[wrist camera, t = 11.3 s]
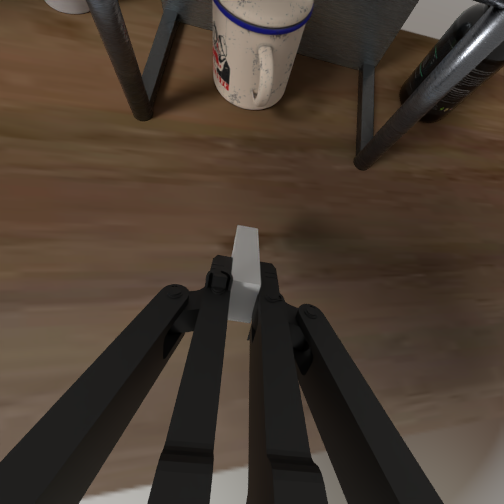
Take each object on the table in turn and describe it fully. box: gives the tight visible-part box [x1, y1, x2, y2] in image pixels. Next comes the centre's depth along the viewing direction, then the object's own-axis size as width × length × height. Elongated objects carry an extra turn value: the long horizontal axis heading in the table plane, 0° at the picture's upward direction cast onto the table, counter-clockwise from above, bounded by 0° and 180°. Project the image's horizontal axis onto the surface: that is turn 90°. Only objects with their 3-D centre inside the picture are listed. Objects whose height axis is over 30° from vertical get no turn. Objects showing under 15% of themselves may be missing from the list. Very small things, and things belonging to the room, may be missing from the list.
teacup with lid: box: [212, 0, 314, 110], centre depth 23 cm, size 12×9×12 cm
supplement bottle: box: [400, 3, 504, 123], centre depth 27 cm, size 7×7×12 cm
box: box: [86, 0, 504, 170], centre depth 21 cm, size 27×16×17 cm, turn 82°
